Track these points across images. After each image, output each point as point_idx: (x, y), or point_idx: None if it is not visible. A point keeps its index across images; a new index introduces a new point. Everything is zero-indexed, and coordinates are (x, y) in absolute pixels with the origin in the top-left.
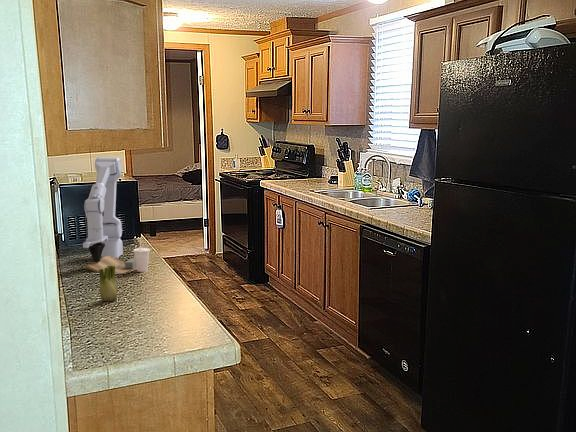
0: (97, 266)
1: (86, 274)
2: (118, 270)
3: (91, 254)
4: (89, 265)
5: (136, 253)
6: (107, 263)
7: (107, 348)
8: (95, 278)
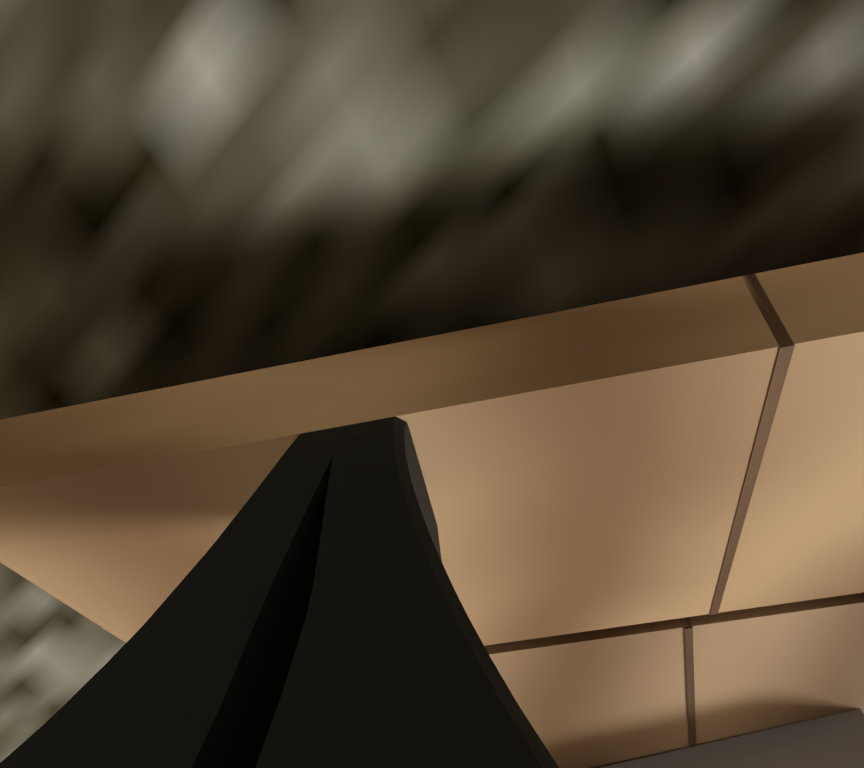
0: None
1: (28, 382)
2: None
3: (152, 624)
4: (15, 537)
5: None
6: (580, 552)
7: None
8: (17, 642)
